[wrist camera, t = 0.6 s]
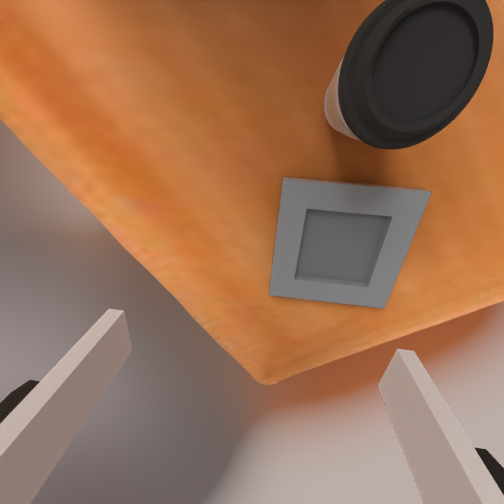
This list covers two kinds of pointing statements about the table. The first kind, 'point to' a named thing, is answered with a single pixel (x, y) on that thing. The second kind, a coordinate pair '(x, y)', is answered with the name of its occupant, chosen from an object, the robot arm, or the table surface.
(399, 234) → the frame
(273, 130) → the table surface
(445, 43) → the coffee cup
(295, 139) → the table surface
